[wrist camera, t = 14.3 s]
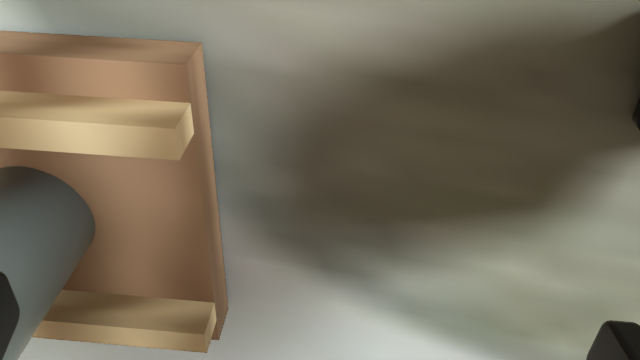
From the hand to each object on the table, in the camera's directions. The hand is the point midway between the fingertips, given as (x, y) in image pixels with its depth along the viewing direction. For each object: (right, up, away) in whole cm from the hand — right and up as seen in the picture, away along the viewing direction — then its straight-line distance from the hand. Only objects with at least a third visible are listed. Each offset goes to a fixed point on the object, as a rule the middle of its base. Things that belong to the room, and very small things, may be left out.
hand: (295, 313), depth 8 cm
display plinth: (-10, +2, +16) cm, 19 cm away
